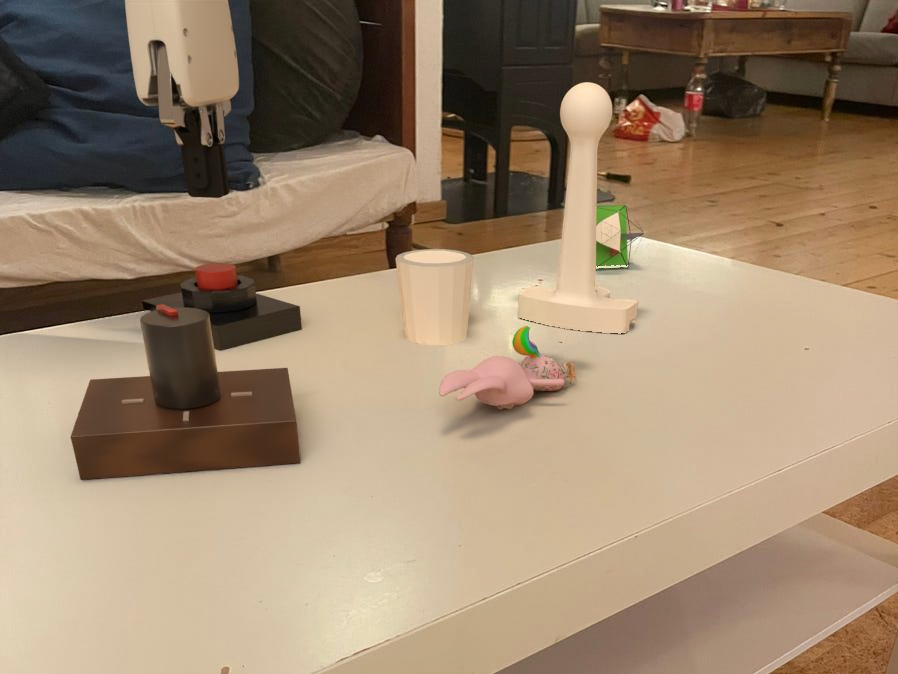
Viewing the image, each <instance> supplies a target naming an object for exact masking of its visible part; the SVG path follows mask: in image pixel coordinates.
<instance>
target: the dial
mask: <svg viewBox="0 0 898 674" xmlns="http://www.w3.org/2000/svg"><path fill="white" fill-rule="evenodd" d="M156 309H157V310H155V311H152V312H151V311H148V312H146V313H144V314H143V315H141V316H140V317H139V323H140V328H141V334H142V339H143V344H144V351H145V356H146V362H147V367H148V372H149V376H150V379H151V384H152V390H153V395H154V400H155V402H156V404H158V405H159V406H162V407H165V408H171V409H191V408H198V407H203V406H206V405H209V404H212V403H214V402H216V401H217V400H218V399H219V398H220V396H221V392H220V385H219V378H218V372H219V371H218V365H217V358H216V349H214V343H213V336H212V329H211V322H210V315H209V313H208V312H206V311H204V310H201V309H196V308H170V307H168V306H166V305H164V304H162V305H156Z"/></svg>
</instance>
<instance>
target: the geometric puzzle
mask: <svg viewBox="0 0 898 674" xmlns="http://www.w3.org/2000/svg"><path fill="white" fill-rule="evenodd" d="M628 215H629V213H628V207H627V204H619V205H618V204H617V205H615V204H614V205H597V212H596V266H597V267H598V266H605V265H606V266H611V265H614V266H616V265H620V266H621V265H626V266H627V265H629V266H630V264H631V262H632V260H633V259H631V261H630V257H631V248H632V243H633V242H635V241H636V240H637V239H638V238H640V237H641V239H640V240H639V242H642V238H643V237H642V236H643V235H644V234H645V233H646V231H644V230H643V229H642V228H641V226H640V224H639V223H638V221H637V220H636V219H635V217H633V218H634V220H635V222H636V223H637V225H638V226H639V227H638V226H637V225H636V224H634V226H635V227H636V228H637V229H639V230H640V231H641V232H631V228H630V223H631V224H633V222H632V221H631V220H629V216H628ZM627 224H628V225H627ZM627 226H628V227H627ZM628 230H629V231H628ZM628 232H629V233H628ZM628 246H629V254H628ZM637 250H638V248H636V249H635V251H634V253H636V252H637Z"/></svg>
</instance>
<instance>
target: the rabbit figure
mask: <svg viewBox="0 0 898 674" xmlns="http://www.w3.org/2000/svg"><path fill="white" fill-rule="evenodd" d="M530 329H531V327H530V326H528V325H524V326H522V327H520V328H519V329H517V330H516V332H515V333H514V335H513V338H512V348H513V349H514V351H515V352H516V353H517V354H519V355H521V356H525V357H524V359H522V362H521V364H520V363H519V362H517V361H516V360H515V359H512V358H510V357H508V356H504V355H496V356H495V355H494V356H491V357H487V358H486V359H483V360H481V361H480V362H478V363H477V365H475V366H474V367H473V368H472V369H458V370H453V371H451V372H449V373H447V374H446V375H444V377H443V378H442V380H441V382H440V385H439V389H438V394H439V396H440V397H442V398H443V397H446V396H448V395H449V394H451V393H454V392H456V391H459V390H462V391H461V392H460V393H459V394H458V395H457V396H456V398H455V400H456V401H459V402H460V401H464V400H465V399H468V398H469V397H472V396H473V395H475V397H476V399H478V400H479V401H480V402H481V403H483V404H486V405H489V406H492V407H493V406H494V407H496V408H497V409H498V410H499V411H501V410H504V409H507V410H510V409H513V408H514V406H520V405H524V404H526V403H527V402H529V401H530V400H531V399H532V398H533V396H534V394H535V393H534V391H537V392H545V391H547V392H557V391H558V390H560V389H561V388H563V387H564V386H565V383H566V381H567V378H568V377H569V382H570V384H573V381H572V379H574V381H577V380H578V379H577V378H576V371H575V368H576V367H575V362H576V360H575V359H574V360H573V361H572V363H570V361H569V360H567V361H565V362H564V363H562V364H559V363H558V362H557V360H555V359H554V358H552V357H550V354H548V355H547V356H546V355H543V354H542V353H541V352H540V351H539V349H538V346H537V345H536V343H535V342H533V341H531V340H530Z"/></svg>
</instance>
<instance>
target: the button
mask: <svg viewBox="0 0 898 674" xmlns="http://www.w3.org/2000/svg"><path fill="white" fill-rule="evenodd" d="M194 271H195V277H196V279H197V286H198V287H199V288H204V289H224V288H230V287H235V286H238V280H237V275H238V274H237V273H238V272H237V266H236V265H235V264H231V263H228V262H227V263H225V262H211V263H205V264H200V265H198V266H196V267H195V268H194Z"/></svg>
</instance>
